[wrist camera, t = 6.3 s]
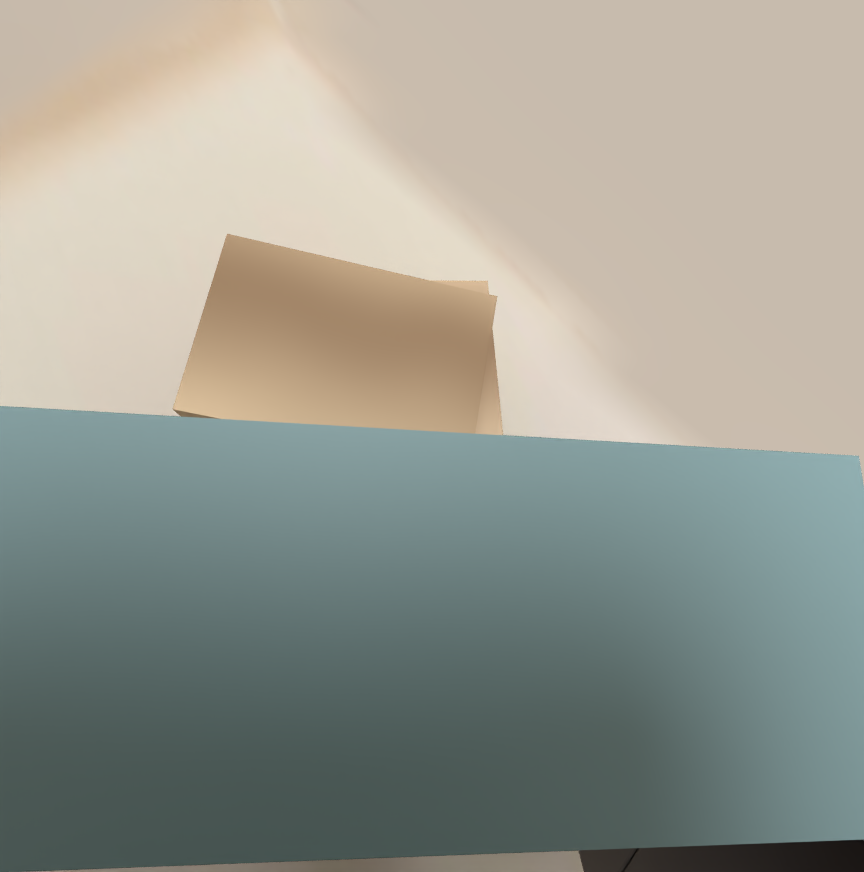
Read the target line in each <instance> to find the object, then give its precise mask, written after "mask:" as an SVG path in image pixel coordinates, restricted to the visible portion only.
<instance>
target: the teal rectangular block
mask: <svg viewBox="0 0 864 872" xmlns="http://www.w3.org/2000/svg"><path fill="white" fill-rule="evenodd" d="M863 839H864V486H863V480H862V473H861V467H860V461H859V456H852V455H834V454H815V453H800V452H782V451H764V450H747V449H731V448H714V447H697V446H679V445H662V444H645V443H628V442H610V441H593V440H576V439H559V438H542V437H524V436H507V435H490V434H473V433H456V432H438V431H421V430H404V429H387V428H369V427H352V426H335V425H318V424H300V423H283V422H266V421H249V420H232V419H214V418H197V417H180V416H163V415H145V414H128V413H111V412H94V411H77V410H59V409H42V408H25V407H8V406H0V872H27V871H53V870H79V869H105V868H131V867H157V866H184V865H210V864H236V863H262V862H288V861H314V860H340V859H366V858H393V857H419V856H445V855H471V854H497V853H523V852H549V851H576V850H602V849H628V848H654V847H680V846H706V845H732V844H758V843H784V842H811V841H837V840H863Z"/></svg>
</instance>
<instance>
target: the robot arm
mask: <svg viewBox="0 0 864 872" xmlns="http://www.w3.org/2000/svg"><path fill="white" fill-rule="evenodd" d="M579 854H580V858H581V862H582V866H583V869H584V872H864V839H863V840H837V841H811V842H784V843H758V844H732V845H706V846H680V847H654V848H628V849H602V850H579Z"/></svg>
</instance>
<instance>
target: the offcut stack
mask: <svg viewBox="0 0 864 872" xmlns="http://www.w3.org/2000/svg"><path fill="white" fill-rule="evenodd" d="M496 301H497V296H494V295H489V291H488V281H429V280H424V279H420V278H416V277H411V276H407V275H403V274H398V273H394V272H390V271H385V270H381V269H377V268H373V267H368V266H364V265H360V264H355V263H351V262H347V261H342V260H338V259H334V258H329V257H325V256H321V255H316V254H312V253H308V252H303V251H299V250H295V249H290V248H286V247H282V246H277V245H273V244H269V243H264V242H260V241H256V240H252V239H247V238H243V237H239V236H234V235H230V234H227V236H226V239H225V242H224V246H223V249H222V252H221V255H220V258H219V262H218V265H217V268H216V271H215V274H214V278H213V281H212V284H211V287H210V291H209V294H208V297H207V300H206V303H205V307H204V310H203V313H202V316H201V319H200V323H199V326H198V329H197V332H196V336H195V339H194V342H193V345H192V348H191V352H190V355H189V358H188V361H187V364H186V368H185V371H184V374H183V377H182V380H181V384H180V387H179V390H178V393H177V397H176V400H175V403H174V406H173V410H174V411H175V412H176V413H178V414H179V415H180V416H181V417H197V418H214V419H232V420H249V421H266V422H283V423H300V424H318V425H335V426H352V427H369V428H387V429H404V430H421V431H438V432H456V433H473V434H490V435H503V430H502V420H501V410H500V400H499V390H498V380H497V370H496V360H495V350H494V340H493V330H492V326H493V319H494V313H495V307H496Z"/></svg>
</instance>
